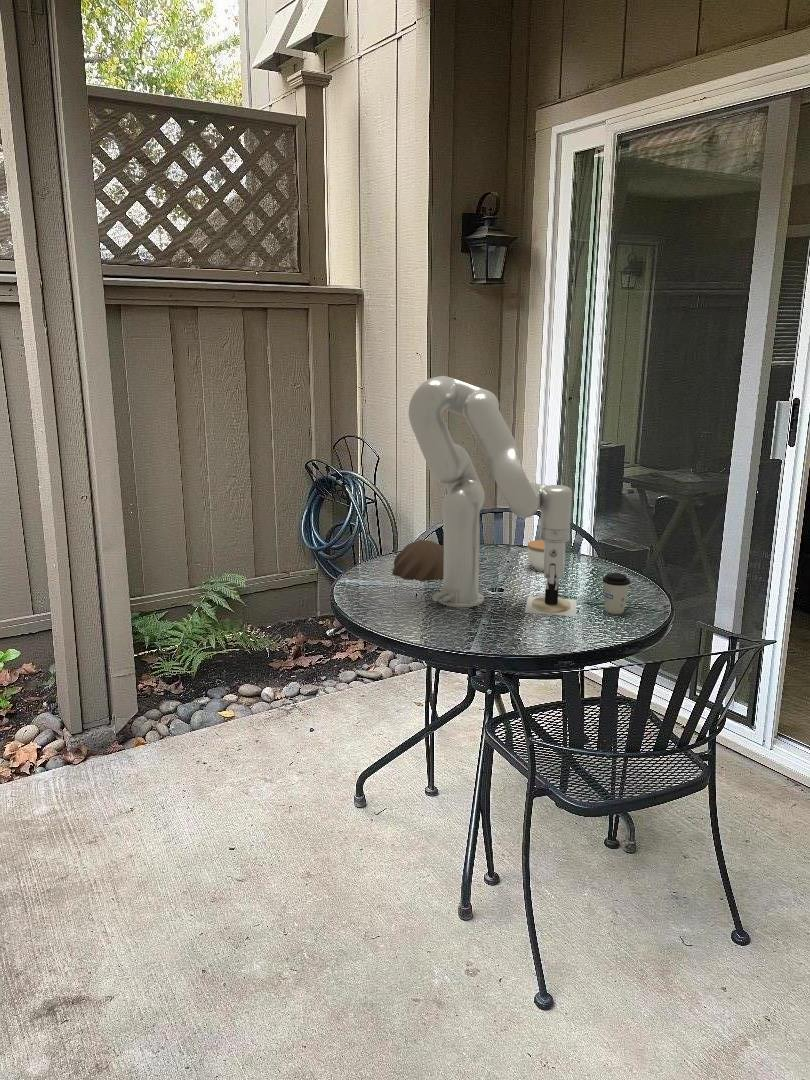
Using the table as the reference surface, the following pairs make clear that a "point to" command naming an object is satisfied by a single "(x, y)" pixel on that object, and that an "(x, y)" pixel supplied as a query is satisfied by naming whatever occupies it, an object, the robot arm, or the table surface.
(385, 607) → the table surface
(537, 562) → the lidded jar
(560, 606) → the lid
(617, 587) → the coffee cup
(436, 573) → the decorative dome
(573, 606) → the mat
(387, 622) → the table surface
